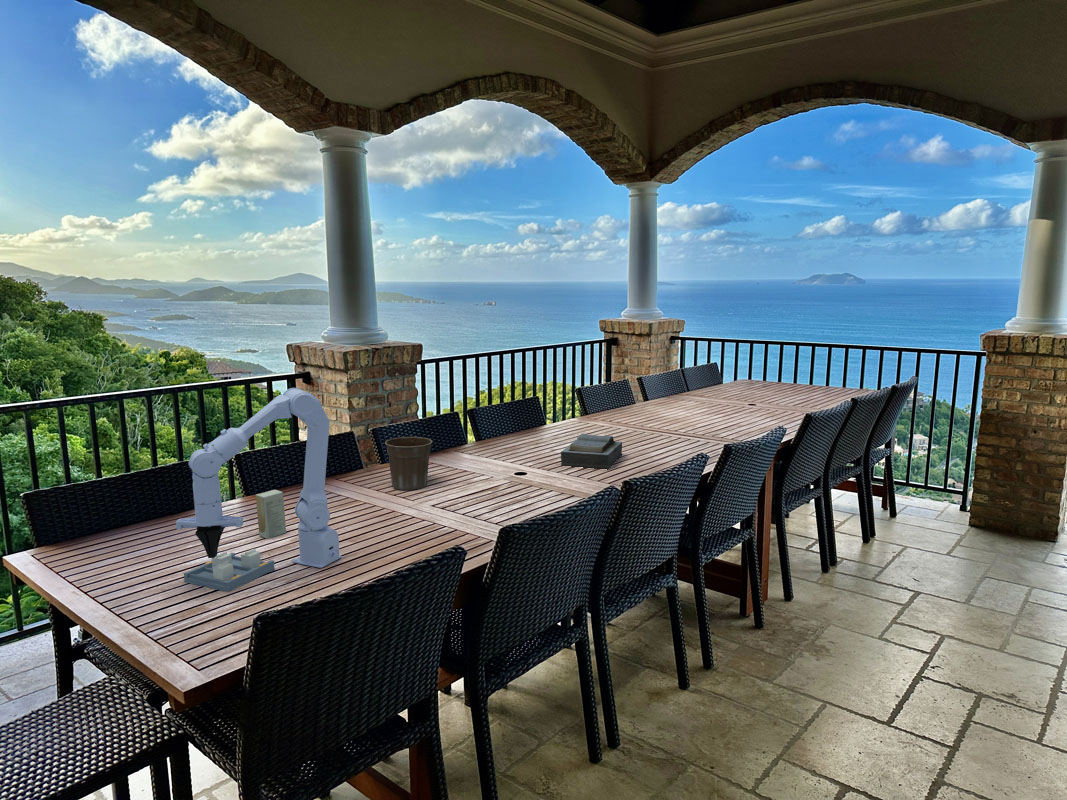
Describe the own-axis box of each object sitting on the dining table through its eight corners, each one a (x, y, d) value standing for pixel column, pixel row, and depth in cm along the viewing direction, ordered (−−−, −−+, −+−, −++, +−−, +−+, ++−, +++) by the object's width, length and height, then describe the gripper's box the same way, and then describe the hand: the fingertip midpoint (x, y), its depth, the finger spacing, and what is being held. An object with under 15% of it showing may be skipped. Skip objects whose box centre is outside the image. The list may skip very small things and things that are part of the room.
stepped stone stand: (632, 458, 286) (633, 435, 285) (604, 473, 263) (604, 447, 262) (582, 452, 298) (582, 429, 297) (550, 465, 275) (550, 441, 274)
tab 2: (234, 578, 165) (232, 561, 165) (223, 583, 163) (221, 566, 162) (224, 576, 167) (223, 559, 166) (213, 581, 164) (212, 564, 163)
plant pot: (438, 480, 253) (437, 436, 251) (427, 493, 237) (425, 446, 235) (394, 479, 255) (392, 436, 252) (380, 492, 239) (378, 446, 236)
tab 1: (232, 568, 171) (231, 552, 171) (221, 573, 168) (220, 556, 168) (223, 566, 172) (222, 550, 172) (212, 571, 170) (211, 555, 169)
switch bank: (274, 569, 173) (273, 560, 173) (227, 592, 160) (227, 582, 160) (232, 560, 179) (231, 551, 178) (184, 581, 166) (183, 572, 165)
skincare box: (278, 529, 202) (276, 488, 200) (286, 533, 199) (284, 491, 197) (257, 536, 197) (254, 493, 195) (265, 539, 194) (263, 496, 192)
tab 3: (260, 565, 173) (259, 549, 172) (250, 570, 170) (249, 554, 169) (251, 563, 174) (250, 547, 174) (241, 568, 171) (240, 552, 171)
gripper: (245, 494, 167) (249, 549, 170) (183, 496, 166) (188, 551, 169) (235, 503, 160) (239, 560, 163) (169, 505, 159) (175, 562, 162)
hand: (212, 556), depth 165 cm, fingers closed
